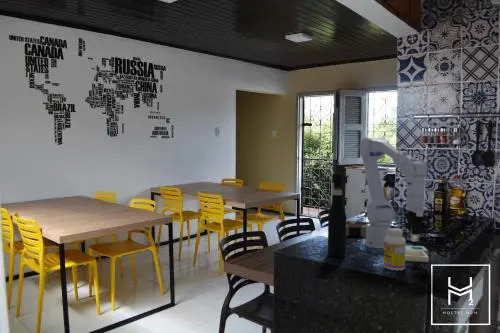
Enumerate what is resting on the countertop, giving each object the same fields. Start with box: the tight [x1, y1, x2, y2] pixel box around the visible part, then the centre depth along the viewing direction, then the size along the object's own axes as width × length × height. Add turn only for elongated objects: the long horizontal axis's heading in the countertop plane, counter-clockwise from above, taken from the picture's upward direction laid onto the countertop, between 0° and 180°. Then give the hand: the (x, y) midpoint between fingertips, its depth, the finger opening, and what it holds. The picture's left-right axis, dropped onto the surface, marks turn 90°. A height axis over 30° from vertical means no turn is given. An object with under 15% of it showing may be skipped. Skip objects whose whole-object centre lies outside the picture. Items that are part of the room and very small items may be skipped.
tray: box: [405, 250, 430, 263], centre depth 140 cm, size 8×8×2 cm
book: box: [346, 219, 370, 238], centre depth 180 cm, size 15×25×5 cm, turn 78°
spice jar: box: [410, 231, 420, 242], centre depth 140 cm, size 3×3×9 cm
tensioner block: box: [405, 245, 429, 256], centre depth 148 cm, size 8×6×2 cm
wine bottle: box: [327, 173, 347, 258], centre depth 143 cm, size 6×6×30 cm
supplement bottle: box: [383, 227, 407, 272], centre depth 129 cm, size 7×7×13 cm
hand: (414, 233), depth 140 cm, fingers closed on spice jar, 3 cm apart
